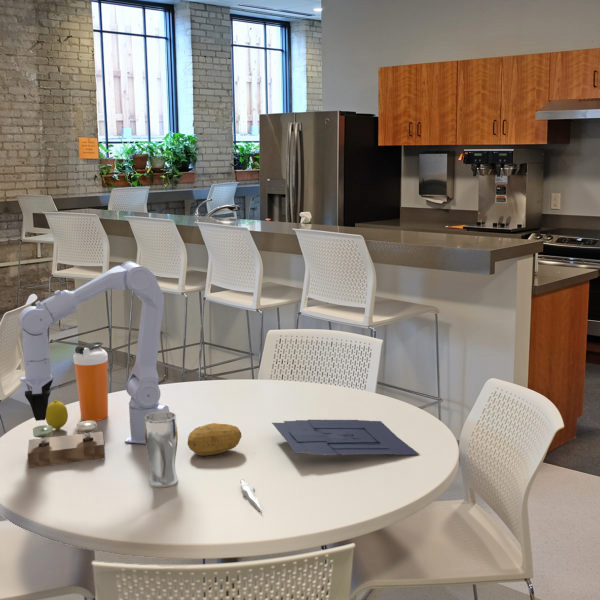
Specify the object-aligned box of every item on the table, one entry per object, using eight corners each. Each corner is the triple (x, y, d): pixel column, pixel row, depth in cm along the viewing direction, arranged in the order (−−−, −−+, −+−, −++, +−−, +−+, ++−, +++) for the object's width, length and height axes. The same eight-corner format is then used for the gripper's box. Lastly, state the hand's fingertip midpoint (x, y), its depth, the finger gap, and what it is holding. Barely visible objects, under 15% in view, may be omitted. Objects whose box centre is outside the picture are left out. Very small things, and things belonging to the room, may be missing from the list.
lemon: (55, 435, 206) (53, 405, 204) (42, 430, 209) (39, 401, 207) (73, 429, 210) (71, 399, 208) (60, 424, 213) (57, 395, 212)
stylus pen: (235, 486, 174) (235, 478, 174) (247, 484, 175) (247, 476, 175) (255, 516, 160) (254, 507, 160) (268, 514, 161) (267, 505, 161)
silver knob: (97, 437, 195) (96, 419, 194) (98, 443, 191) (96, 425, 190) (78, 439, 194) (77, 421, 193) (78, 446, 190) (77, 427, 189)
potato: (189, 446, 197) (188, 419, 195) (242, 444, 197) (241, 417, 196) (186, 461, 188) (185, 432, 186) (241, 459, 188) (240, 431, 187)
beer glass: (165, 491, 172) (161, 423, 169) (140, 484, 175) (136, 418, 172) (186, 479, 178) (183, 414, 175) (162, 472, 181) (158, 408, 178)
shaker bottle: (118, 414, 220) (114, 343, 216) (94, 424, 213) (89, 350, 209) (95, 409, 225) (90, 339, 221) (70, 418, 218) (65, 346, 214)
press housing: (103, 445, 198) (102, 431, 198) (105, 458, 190) (104, 444, 189) (30, 453, 194) (28, 439, 193) (28, 467, 185) (27, 453, 185)
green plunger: (54, 442, 192) (52, 424, 192) (53, 448, 188) (52, 430, 187) (34, 444, 191) (33, 426, 190) (34, 451, 187) (32, 432, 186)
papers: (268, 430, 203) (270, 416, 203) (379, 430, 212) (380, 417, 212) (295, 467, 180) (297, 451, 180) (418, 465, 189) (420, 450, 189)
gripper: (21, 352, 193) (26, 406, 196) (15, 368, 179) (20, 426, 182) (52, 349, 195) (56, 403, 197) (49, 365, 181) (53, 423, 184)
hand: (41, 414), depth 190 cm, fingers open, 7 cm apart
